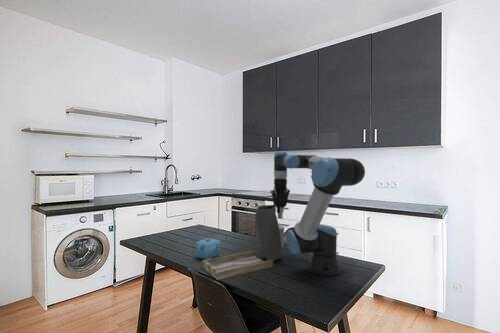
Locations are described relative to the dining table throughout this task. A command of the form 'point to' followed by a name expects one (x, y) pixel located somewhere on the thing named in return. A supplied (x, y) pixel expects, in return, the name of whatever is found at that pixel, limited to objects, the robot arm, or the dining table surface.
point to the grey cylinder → (281, 235)
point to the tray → (235, 265)
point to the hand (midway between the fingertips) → (280, 218)
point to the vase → (269, 231)
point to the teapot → (207, 248)
